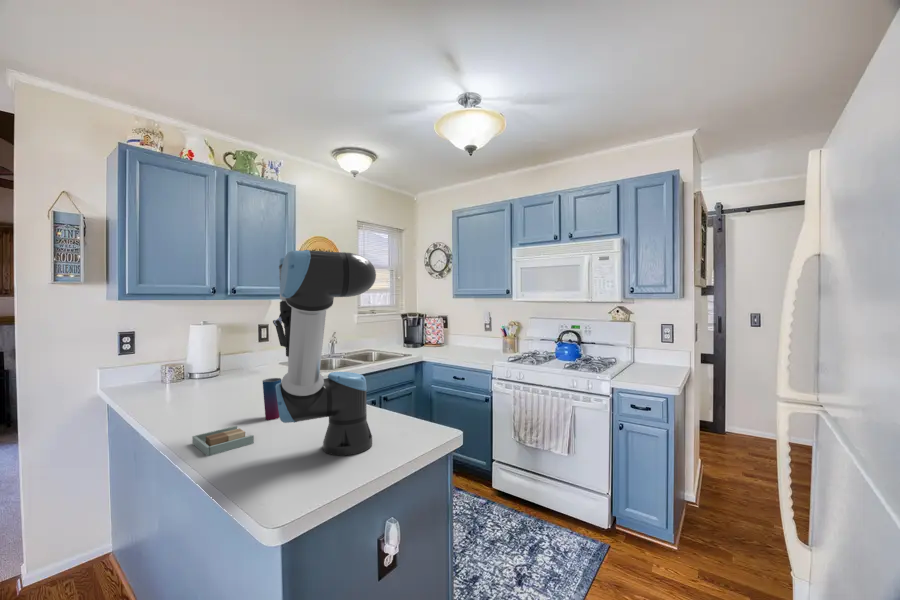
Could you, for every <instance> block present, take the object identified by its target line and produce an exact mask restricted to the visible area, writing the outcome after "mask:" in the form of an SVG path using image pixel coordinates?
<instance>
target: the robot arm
mask: <svg viewBox="0 0 900 600" xmlns="http://www.w3.org/2000/svg"><path fill="white" fill-rule="evenodd" d="M278 269H279V299H280V302H279V312H280V313H279V316H278V318H277V319H274V320H272V323H273V325H274V326H275V329H276V333H277V337H278V341H279V345H280V346H281V347H284V348H285V357H287V368H288V369H287V373H286V374H285V375H283V377H282V378H281V379H282V381H281V383H279V384H276V395H277V402H278V410H279V420H280V421H281V422H282V423H284V424H289V423H299V422H304V421H309V420H311V421H312V420H316V419H322V418H328V425H327V427H326V431H325V435H324V437H323V441H322V444H323V445H322V449H323V451H324V452H325V453H326V454H329V455H332V456H350V455H356V454H359V453H363V452H365V451H367V450H369V449H370V448H371V447H372V446H373V435H372V432H371V429H370V426H369V423H368V420H367V415H368V414H367V413H368V412H367V411H368V410H367V409H368V408H367V392H368V388H367V380H366V376H364V375H363V374H362V373H357V372H351V371H334V372H333V371H332V372H329V373H328V374H327V377H326V378H324V376H323V375H322V373H320V372H321V364H322V355H323V353H322V352H323V344H324V336H325V335H324V334H325V327H326V326H325V325H326V317H327V316H326V315H327V310H329V309H330V308H331V307H333V304H334V298H349V297H350V298H351V297H355V296H359V295H362V294H364V293H366V292H368V291H369V290H370V289H371V288H372V287H373V285H374V284H375V282H376V279H377V271H376V268H375V265H374V264H373V263H372V262H371V261H370V259H368V258H366V257H364V256H362V255H360V254H358V253H352V252H347V251H346V252H345V251H343V252H337V251H320V250H319V251H317V250H309V249H303V250H290V251H289V252H288V251H287V253H286V254H285V256H284V257H281V258H280V259H279V265H278ZM282 324H283V325H282Z"/></svg>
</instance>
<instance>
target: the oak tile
mask: <svg viewBox="0 0 900 600" xmlns="http://www.w3.org/2000/svg"><path fill="white" fill-rule="evenodd" d="M224 433H225V434H226V435H228V441H232V440H235V439H239V438H243V437H246V431H245V430H243V429H241V428H237V429H235V430H231V431H227V432H224Z"/></svg>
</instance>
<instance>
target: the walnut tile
mask: <svg viewBox="0 0 900 600" xmlns="http://www.w3.org/2000/svg"><path fill="white" fill-rule="evenodd" d="M224 442H228V435H226V434H225V433H224V432H222V433H218V434H214V435H209V436H206V441H205V443H206V444H207V445H208V446H213V445H217V444H220V443H224Z"/></svg>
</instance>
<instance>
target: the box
mask: <svg viewBox="0 0 900 600" xmlns="http://www.w3.org/2000/svg"><path fill="white" fill-rule="evenodd" d="M235 429H238V426H237V425H234V426H233V425H232V426H228V427H224V428H221V429H216V430H213V431H208V432H205V433H204V432H203V433H201V434H197V435H196V434H195V435H192V436H191V437H192V445H193V446H194V445H195V446H194V447H196V448H197V449H198V450H200V452H202V454H204V455H206V457H210V456H212V455H216V454H219V453H220V454H221V453H224V452H227V451H231V450H234V449H237V448H241V447H244V446H248V445H252V444H254V441H255V440H254V439H255V438H254V434H252V435H248V436H245V437H243V438H239V439H235V440H232V441H228V442H224V443H220V444H217V445H213V446H208V445H207V444H206V436H209V435H214V434H218V433H222V432H227V431H231V430H235Z"/></svg>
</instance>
